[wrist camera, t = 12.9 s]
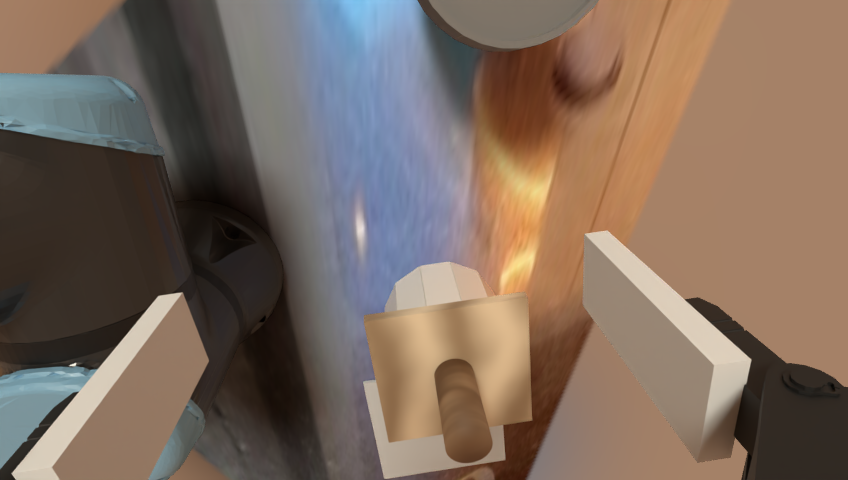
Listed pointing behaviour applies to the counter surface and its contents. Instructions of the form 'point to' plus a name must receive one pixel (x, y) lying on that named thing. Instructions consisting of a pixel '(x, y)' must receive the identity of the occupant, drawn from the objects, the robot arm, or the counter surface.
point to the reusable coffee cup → (505, 21)
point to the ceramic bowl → (437, 286)
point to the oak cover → (453, 371)
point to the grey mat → (418, 445)
